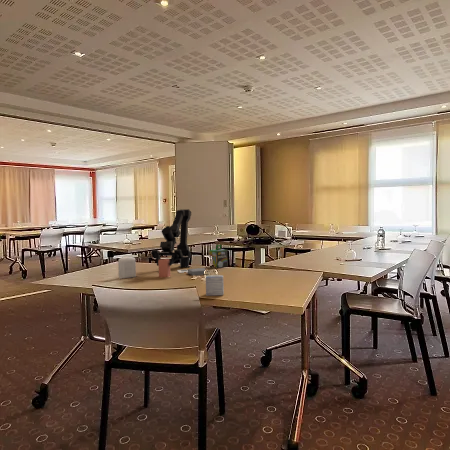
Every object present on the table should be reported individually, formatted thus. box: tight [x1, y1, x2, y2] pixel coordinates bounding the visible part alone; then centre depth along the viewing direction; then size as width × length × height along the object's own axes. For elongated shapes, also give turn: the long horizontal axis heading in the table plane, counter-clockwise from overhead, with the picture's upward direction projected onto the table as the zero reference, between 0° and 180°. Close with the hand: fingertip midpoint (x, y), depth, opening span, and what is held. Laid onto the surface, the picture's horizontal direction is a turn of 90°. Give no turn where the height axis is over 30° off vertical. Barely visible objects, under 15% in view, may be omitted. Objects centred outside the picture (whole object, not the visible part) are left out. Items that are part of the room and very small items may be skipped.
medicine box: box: [205, 274, 225, 297], centre depth 176 cm, size 8×4×9 cm, turn 86°
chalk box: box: [208, 244, 229, 269], centre depth 258 cm, size 9×9×15 cm
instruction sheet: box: [176, 269, 188, 274], centre depth 244 cm, size 10×14×1 cm
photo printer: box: [117, 256, 137, 280], centre depth 226 cm, size 10×4×12 cm, turn 123°
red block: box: [158, 258, 171, 278], centre depth 226 cm, size 4×6×10 cm
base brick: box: [187, 267, 206, 277], centre depth 233 cm, size 10×10×2 cm
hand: (163, 265), depth 225 cm, fingers open, 7 cm apart
